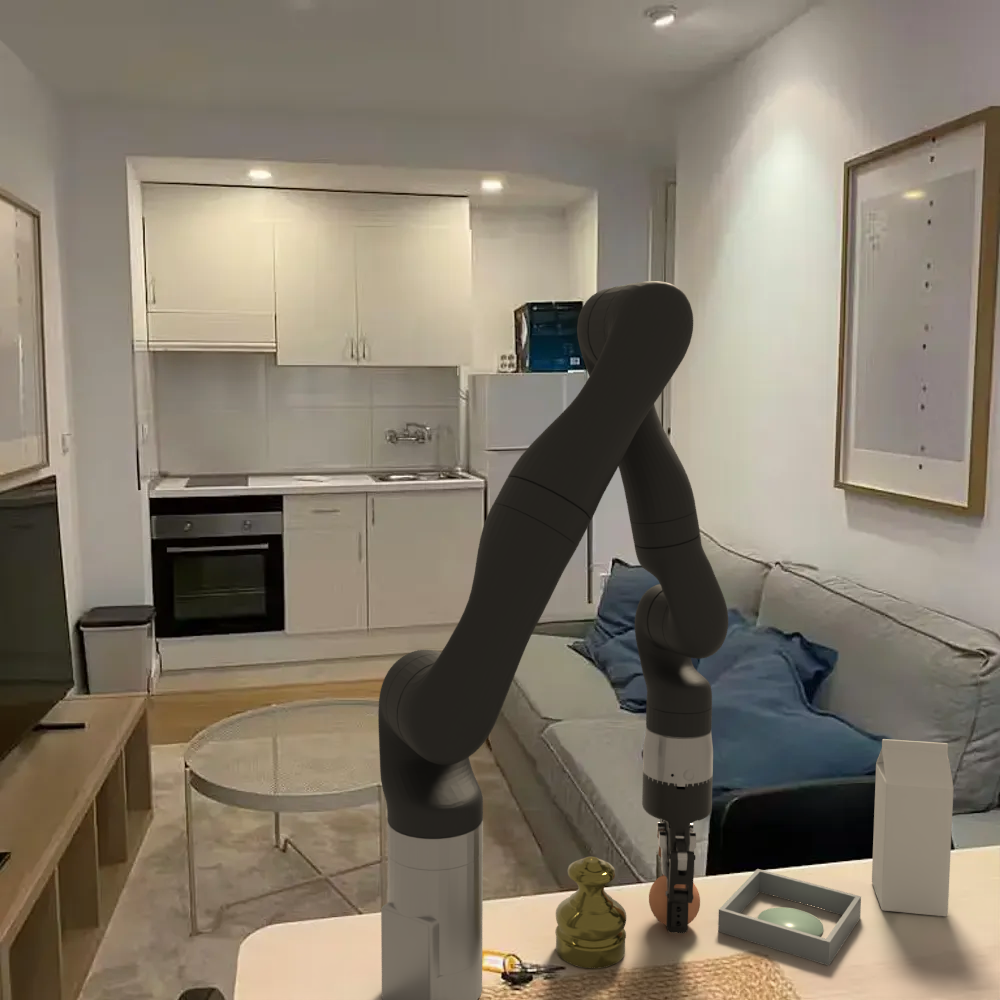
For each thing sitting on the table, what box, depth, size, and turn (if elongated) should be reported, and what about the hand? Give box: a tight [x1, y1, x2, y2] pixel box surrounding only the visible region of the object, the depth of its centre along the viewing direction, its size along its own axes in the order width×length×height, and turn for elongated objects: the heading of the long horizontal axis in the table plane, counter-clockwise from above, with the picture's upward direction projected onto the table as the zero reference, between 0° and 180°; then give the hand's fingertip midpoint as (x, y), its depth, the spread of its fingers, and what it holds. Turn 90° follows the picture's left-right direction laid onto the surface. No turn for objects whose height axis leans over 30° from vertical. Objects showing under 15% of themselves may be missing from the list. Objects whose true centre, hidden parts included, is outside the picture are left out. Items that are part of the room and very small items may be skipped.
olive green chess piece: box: [555, 856, 627, 969], centre depth 106 cm, size 7×7×10 cm
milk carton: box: [871, 738, 955, 917], centre depth 117 cm, size 7×7×19 cm
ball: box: [648, 874, 701, 926], centre depth 111 cm, size 6×6×6 cm
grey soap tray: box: [717, 868, 862, 966], centre depth 112 cm, size 12×12×2 cm
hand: (674, 916), depth 112 cm, fingers closed on ball, 5 cm apart
